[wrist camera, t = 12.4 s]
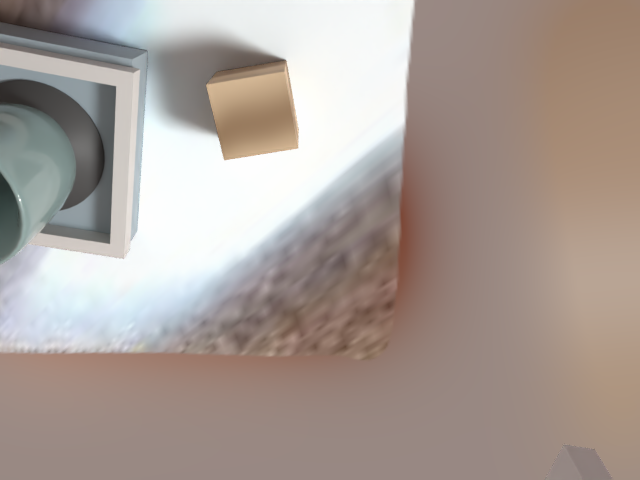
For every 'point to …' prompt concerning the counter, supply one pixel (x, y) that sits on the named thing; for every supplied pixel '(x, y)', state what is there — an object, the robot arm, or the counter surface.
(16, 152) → the cup
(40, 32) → the grey drawer box
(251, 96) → the oak block
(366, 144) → the counter surface
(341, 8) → the counter surface
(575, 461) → the robot arm
